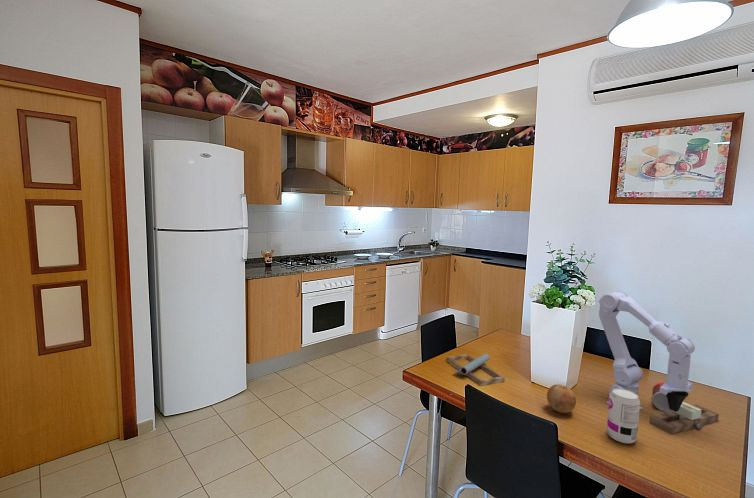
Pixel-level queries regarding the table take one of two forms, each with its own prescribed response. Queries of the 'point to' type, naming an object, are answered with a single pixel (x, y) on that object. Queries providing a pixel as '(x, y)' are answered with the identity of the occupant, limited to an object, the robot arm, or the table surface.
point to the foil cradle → (497, 376)
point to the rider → (688, 412)
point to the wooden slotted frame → (682, 421)
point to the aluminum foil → (473, 364)
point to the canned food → (660, 398)
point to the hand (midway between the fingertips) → (673, 410)
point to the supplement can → (623, 415)
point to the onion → (561, 398)
